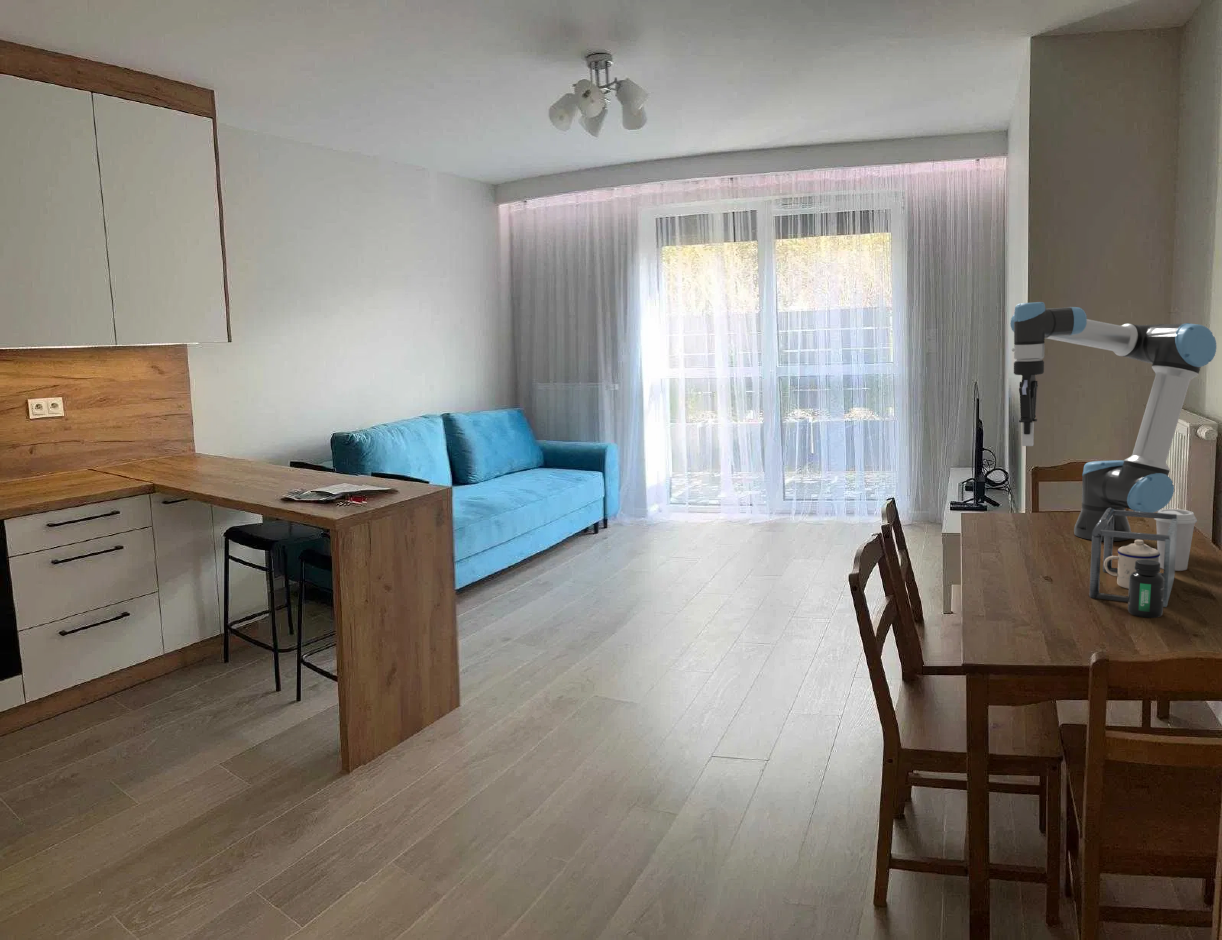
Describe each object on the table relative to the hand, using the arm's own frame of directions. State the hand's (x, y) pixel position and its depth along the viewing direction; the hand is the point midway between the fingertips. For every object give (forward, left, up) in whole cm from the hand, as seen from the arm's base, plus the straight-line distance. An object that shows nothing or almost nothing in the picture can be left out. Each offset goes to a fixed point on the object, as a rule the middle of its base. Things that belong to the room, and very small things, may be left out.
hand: (1027, 445), depth 250 cm
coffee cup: (-5, +35, -32) cm, 48 cm away
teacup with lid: (+17, +28, -32) cm, 46 cm away
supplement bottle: (+39, +33, -32) cm, 60 cm away
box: (+19, +28, -32) cm, 47 cm away
